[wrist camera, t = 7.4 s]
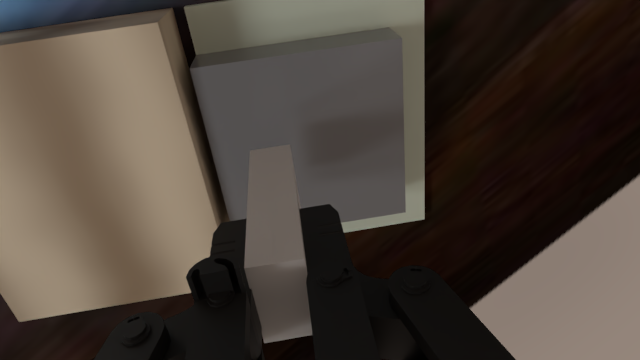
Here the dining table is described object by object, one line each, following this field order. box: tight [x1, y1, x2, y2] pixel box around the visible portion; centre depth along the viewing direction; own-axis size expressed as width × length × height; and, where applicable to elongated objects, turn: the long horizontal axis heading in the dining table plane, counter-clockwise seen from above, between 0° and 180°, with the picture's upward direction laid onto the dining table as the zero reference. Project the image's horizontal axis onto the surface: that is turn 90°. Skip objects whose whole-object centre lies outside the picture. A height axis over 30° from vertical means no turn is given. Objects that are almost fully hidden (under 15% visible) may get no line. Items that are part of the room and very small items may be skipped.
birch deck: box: [0, 8, 230, 322], centre depth 19 cm, size 10×12×3 cm
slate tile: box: [190, 27, 406, 223], centre depth 20 cm, size 8×8×2 cm
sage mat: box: [184, 0, 425, 233], centre depth 21 cm, size 10×12×1 cm
